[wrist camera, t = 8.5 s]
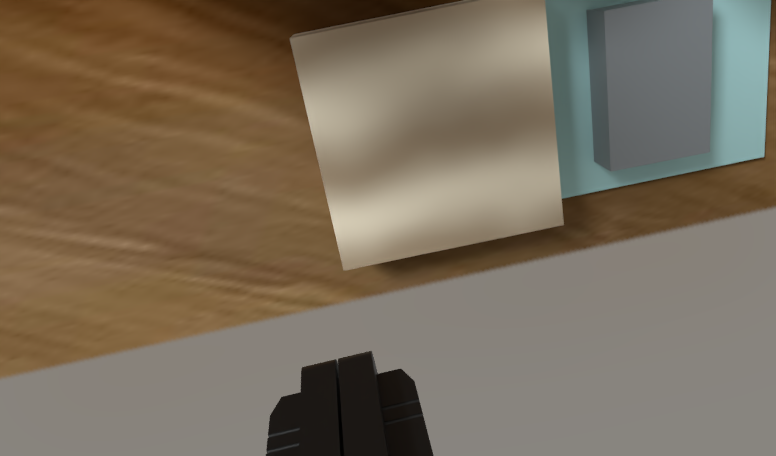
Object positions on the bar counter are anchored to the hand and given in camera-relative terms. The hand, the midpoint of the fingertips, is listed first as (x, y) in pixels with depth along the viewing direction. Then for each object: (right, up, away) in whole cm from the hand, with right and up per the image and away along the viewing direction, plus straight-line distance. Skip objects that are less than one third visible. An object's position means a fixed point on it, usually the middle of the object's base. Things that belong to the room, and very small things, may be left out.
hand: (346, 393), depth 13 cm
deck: (+3, +10, +24) cm, 26 cm away
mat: (+17, +13, +24) cm, 32 cm away
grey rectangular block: (+16, +12, +22) cm, 30 cm away
